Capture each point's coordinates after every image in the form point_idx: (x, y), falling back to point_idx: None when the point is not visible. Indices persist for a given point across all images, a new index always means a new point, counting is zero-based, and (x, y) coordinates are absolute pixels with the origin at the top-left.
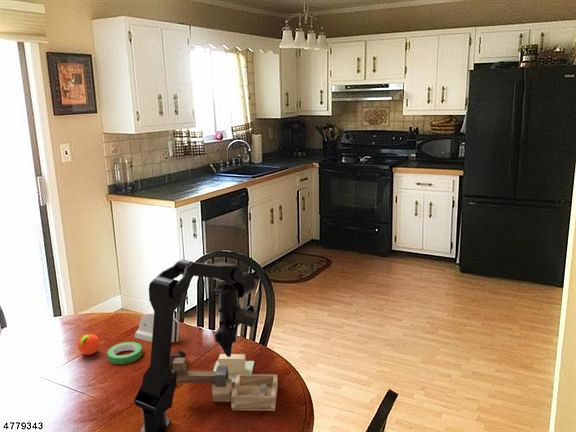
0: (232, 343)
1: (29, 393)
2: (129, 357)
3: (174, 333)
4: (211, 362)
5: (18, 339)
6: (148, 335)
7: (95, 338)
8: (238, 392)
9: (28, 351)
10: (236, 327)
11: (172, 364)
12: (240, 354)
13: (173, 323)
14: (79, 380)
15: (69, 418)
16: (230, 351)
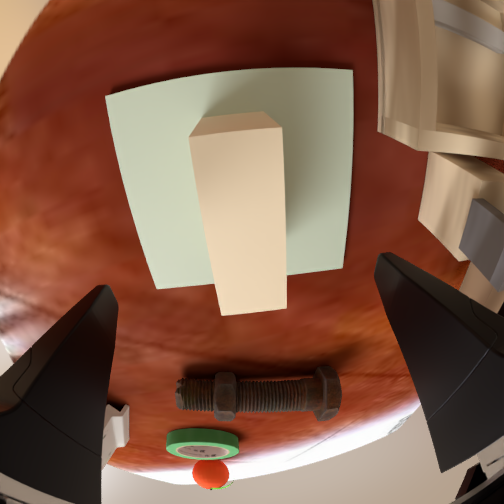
0: (500, 334)
1: (328, 452)
2: (228, 443)
3: None
4: (168, 302)
5: None
6: (122, 437)
7: (209, 481)
8: (457, 126)
9: None
10: (29, 406)
11: (278, 402)
12: (201, 177)
13: None
14: (299, 444)
15: (405, 408)
16: (437, 284)
